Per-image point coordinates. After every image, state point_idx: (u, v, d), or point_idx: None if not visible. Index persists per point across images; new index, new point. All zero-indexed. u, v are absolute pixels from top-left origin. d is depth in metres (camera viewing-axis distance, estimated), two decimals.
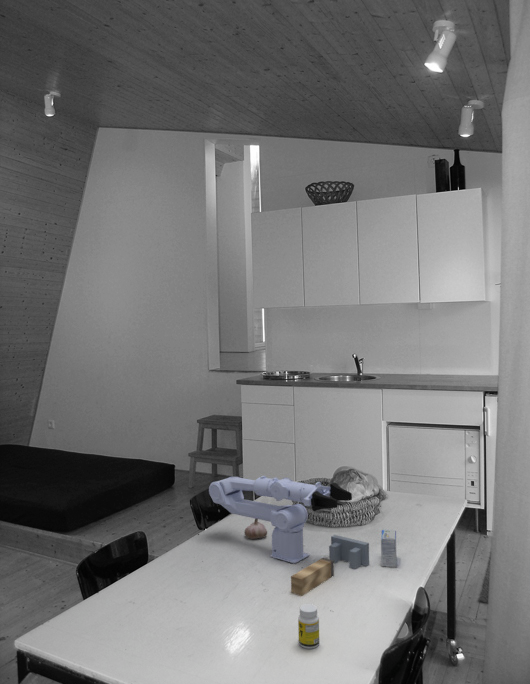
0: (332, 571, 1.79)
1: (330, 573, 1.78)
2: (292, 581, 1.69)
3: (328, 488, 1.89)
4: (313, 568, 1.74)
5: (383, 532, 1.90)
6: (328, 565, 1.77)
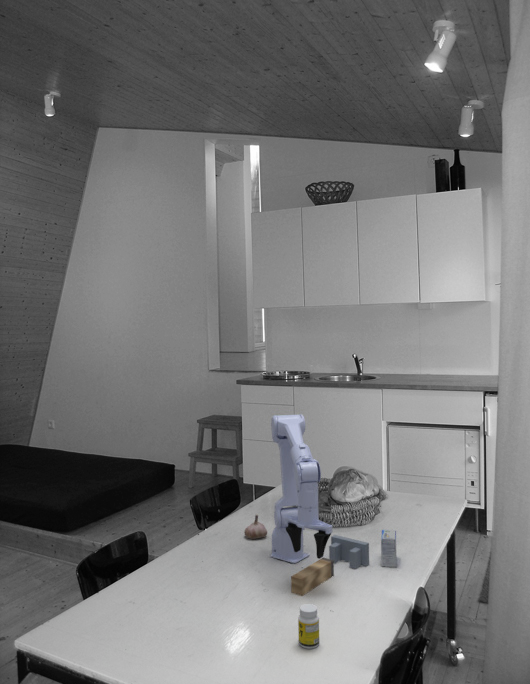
0: (332, 571, 1.79)
1: (330, 573, 1.78)
2: (292, 581, 1.69)
3: None
4: (313, 568, 1.74)
5: (383, 532, 1.90)
6: (328, 565, 1.77)
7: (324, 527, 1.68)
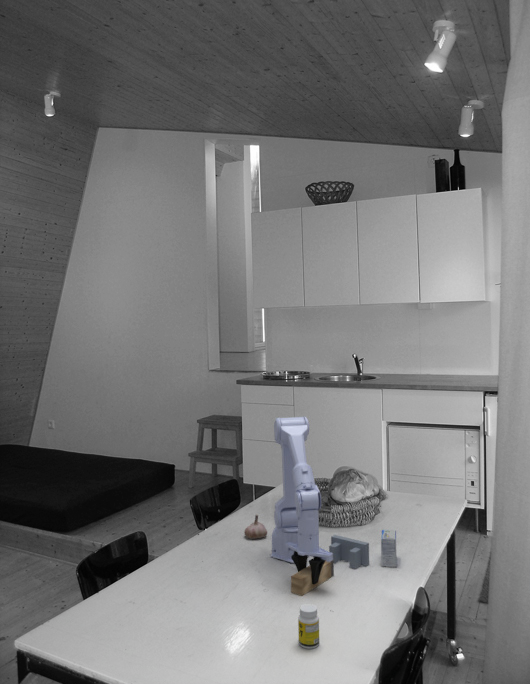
0: (332, 571, 1.79)
1: (330, 573, 1.78)
2: (292, 581, 1.69)
3: None
4: None
5: (383, 532, 1.90)
6: (328, 565, 1.77)
7: (324, 555, 1.68)
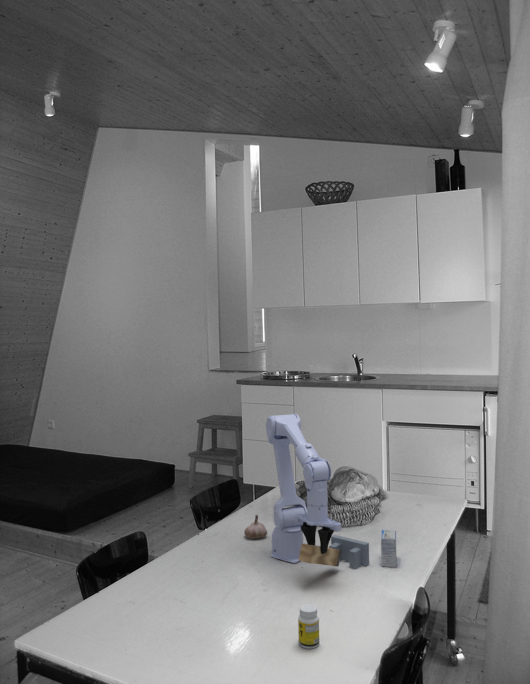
0: (338, 561, 1.82)
1: (336, 561, 1.81)
2: (302, 548, 1.73)
3: None
4: None
5: (383, 532, 1.90)
6: (336, 552, 1.81)
7: (333, 525, 1.71)
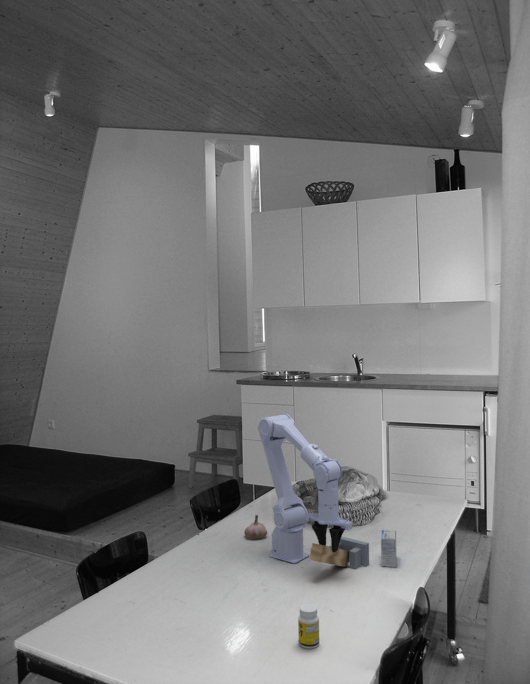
0: (347, 561, 1.85)
1: (345, 562, 1.84)
2: (312, 548, 1.76)
3: None
4: None
5: (383, 532, 1.90)
6: (345, 552, 1.85)
7: (344, 524, 1.76)
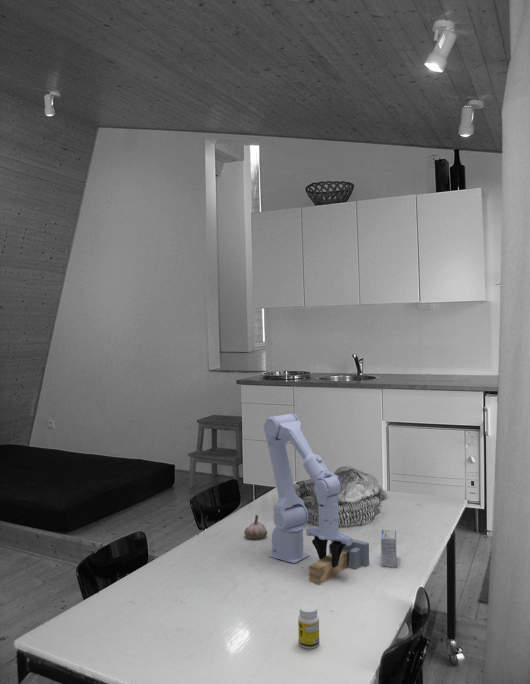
0: (348, 562, 1.86)
1: (346, 563, 1.85)
2: (310, 571, 1.76)
3: None
4: (330, 558, 1.81)
5: (383, 532, 1.90)
6: (344, 555, 1.84)
7: (344, 539, 1.76)
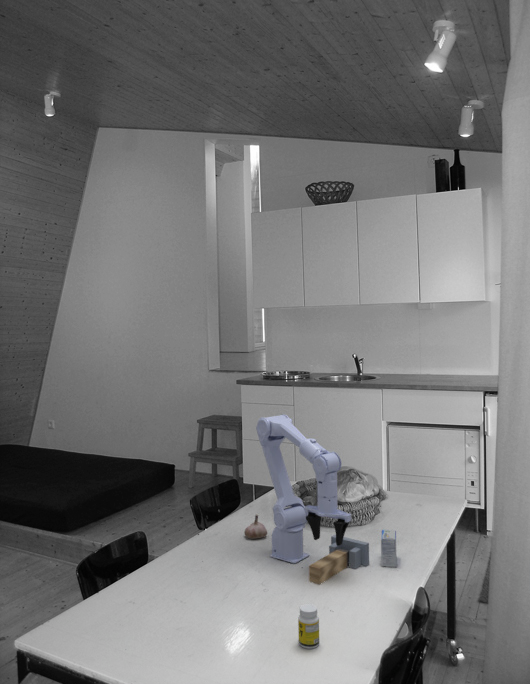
0: (348, 561, 1.86)
1: (346, 563, 1.85)
2: (310, 570, 1.76)
3: None
4: (330, 558, 1.81)
5: (383, 532, 1.90)
6: (344, 555, 1.84)
7: (343, 516, 1.76)
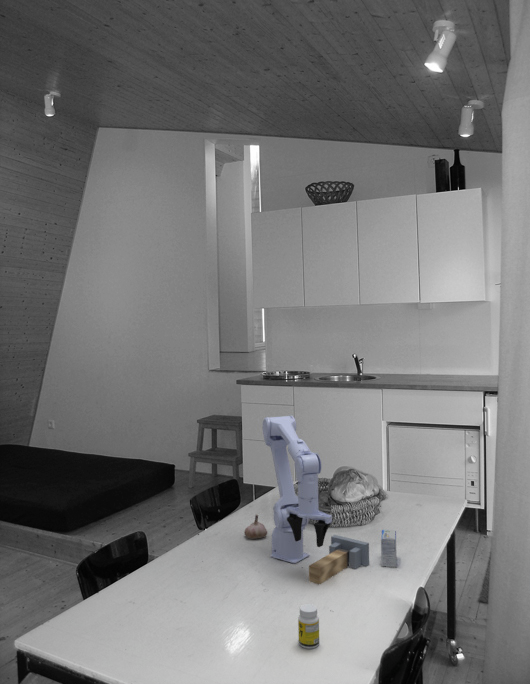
0: (348, 561, 1.86)
1: (346, 563, 1.85)
2: (310, 570, 1.76)
3: None
4: (330, 558, 1.81)
5: (383, 532, 1.90)
6: (344, 555, 1.84)
7: (324, 517, 1.75)
